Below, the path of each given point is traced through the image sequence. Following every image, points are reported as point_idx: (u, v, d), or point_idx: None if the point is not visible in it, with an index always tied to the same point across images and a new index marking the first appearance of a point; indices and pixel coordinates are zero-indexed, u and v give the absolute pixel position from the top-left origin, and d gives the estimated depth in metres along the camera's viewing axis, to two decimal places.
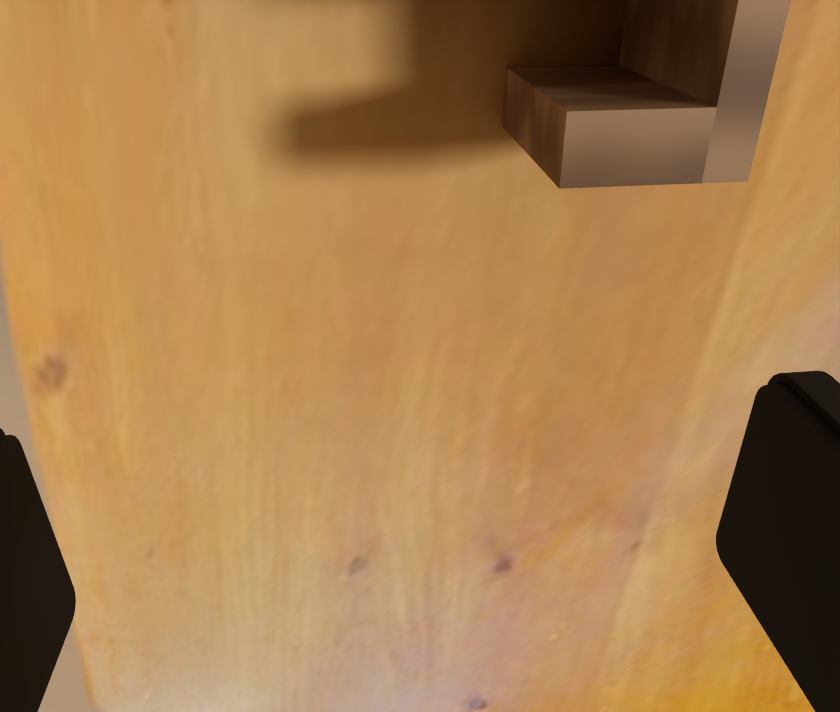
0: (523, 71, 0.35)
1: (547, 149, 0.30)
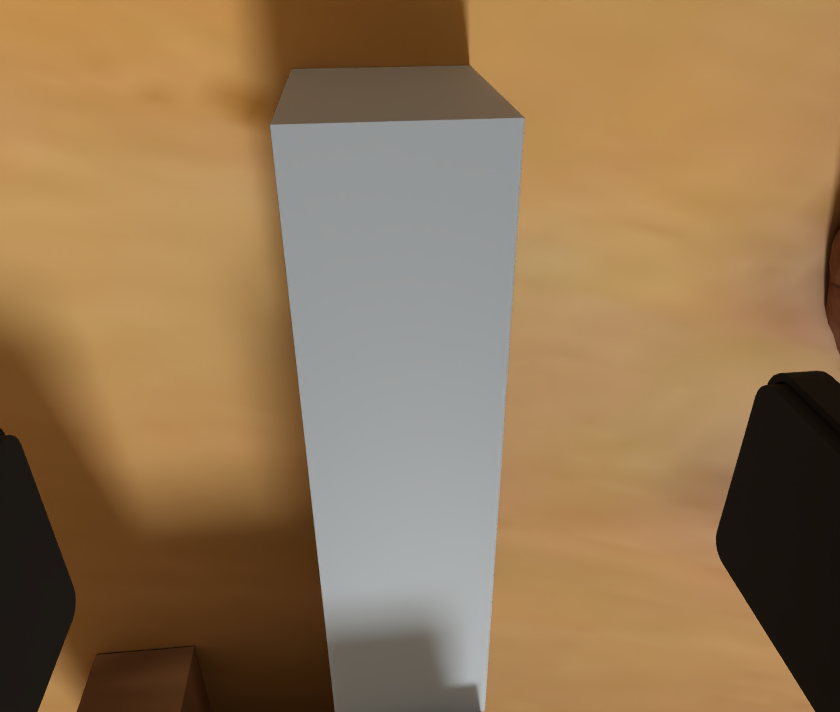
0: (188, 699, 0.21)
1: None
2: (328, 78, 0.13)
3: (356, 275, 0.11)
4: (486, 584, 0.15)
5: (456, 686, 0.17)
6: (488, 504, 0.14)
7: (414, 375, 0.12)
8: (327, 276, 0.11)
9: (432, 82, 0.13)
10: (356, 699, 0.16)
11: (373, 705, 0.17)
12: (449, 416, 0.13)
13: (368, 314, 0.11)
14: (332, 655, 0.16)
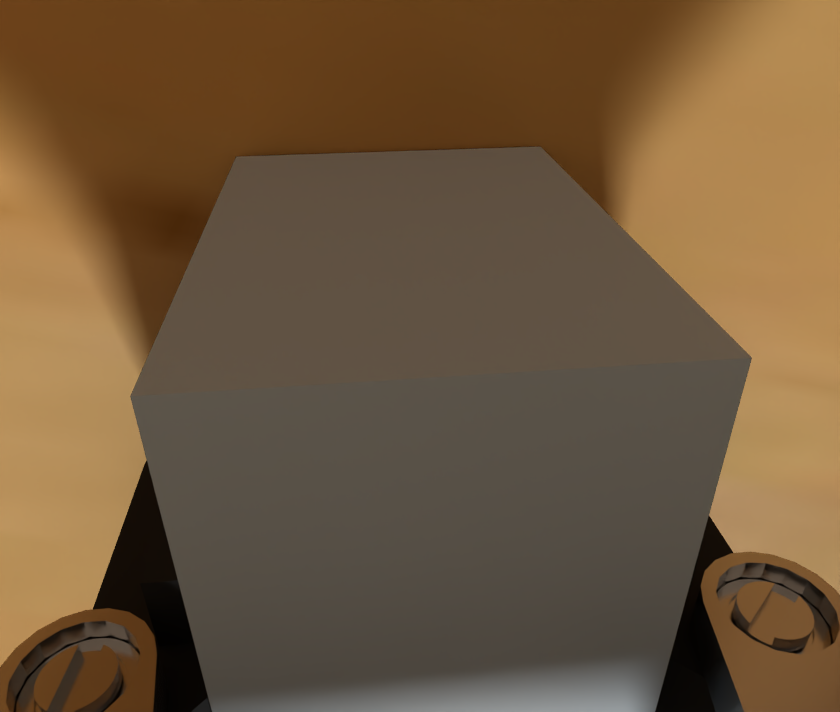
0: None
1: None
2: (297, 186, 0.07)
3: (351, 650, 0.05)
4: None
5: None
6: None
7: None
8: (289, 655, 0.05)
9: (490, 200, 0.07)
10: None
11: None
12: None
13: (374, 706, 0.06)
14: None
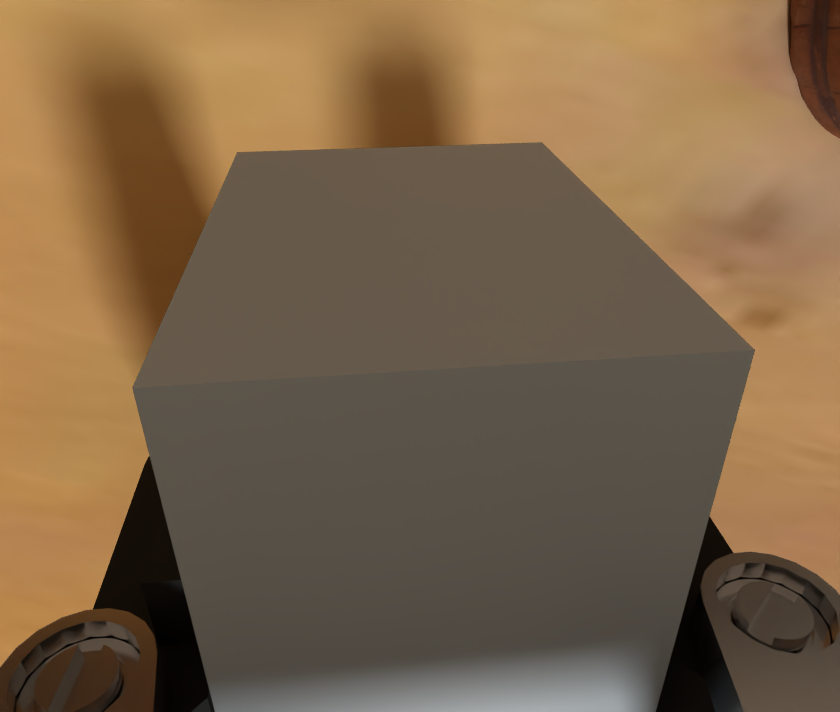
0: None
1: None
2: (298, 181, 0.07)
3: (353, 644, 0.05)
4: None
5: None
6: None
7: None
8: (290, 650, 0.05)
9: (492, 195, 0.07)
10: None
11: None
12: None
13: (375, 700, 0.06)
14: None
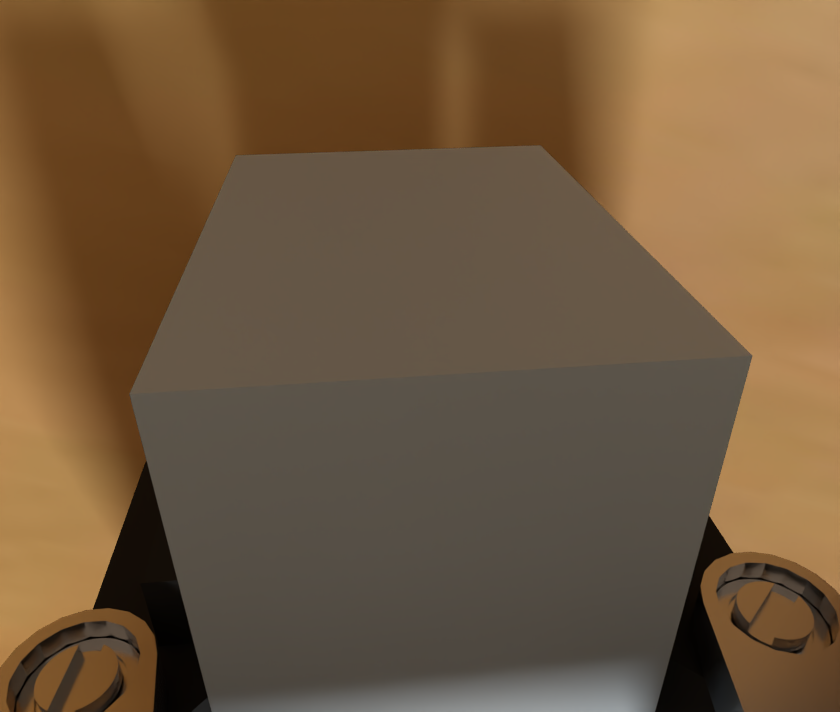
0: None
1: None
2: (297, 184, 0.07)
3: (351, 649, 0.05)
4: None
5: None
6: None
7: None
8: (287, 654, 0.05)
9: (490, 199, 0.07)
10: None
11: None
12: None
13: (374, 706, 0.06)
14: None
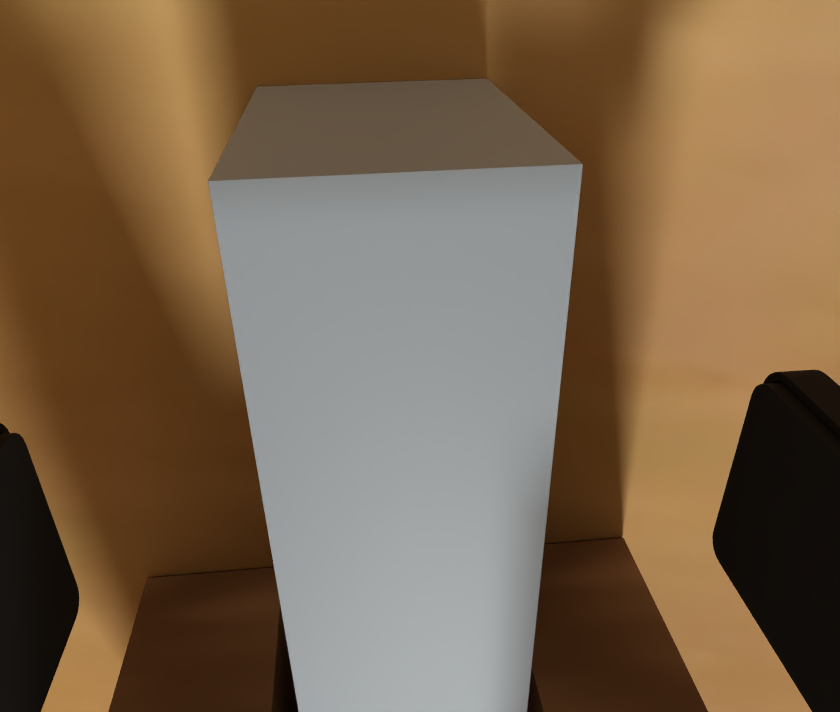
0: (281, 637, 0.15)
1: None
2: (303, 100, 0.10)
3: (342, 382, 0.08)
4: None
5: None
6: (520, 649, 0.11)
7: (423, 503, 0.09)
8: (301, 384, 0.08)
9: (441, 105, 0.09)
10: None
11: None
12: (470, 550, 0.09)
13: (359, 432, 0.08)
14: None
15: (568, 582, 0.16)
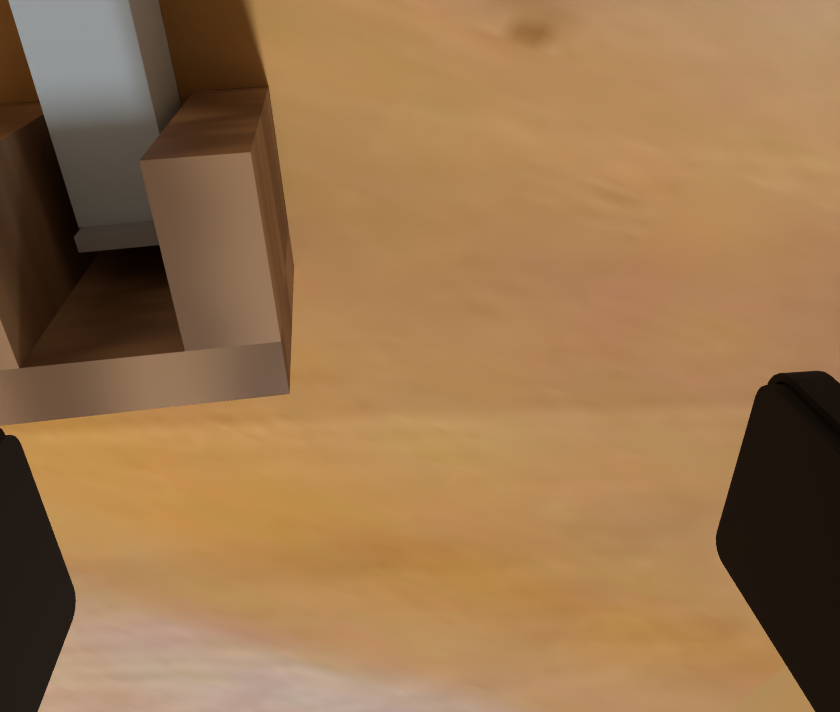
0: None
1: None
2: None
3: None
4: (145, 92, 0.24)
5: None
6: (126, 20, 0.23)
7: None
8: None
9: None
10: (86, 201, 0.25)
11: (99, 208, 0.26)
12: None
13: None
14: (59, 156, 0.25)
15: (223, 94, 0.28)
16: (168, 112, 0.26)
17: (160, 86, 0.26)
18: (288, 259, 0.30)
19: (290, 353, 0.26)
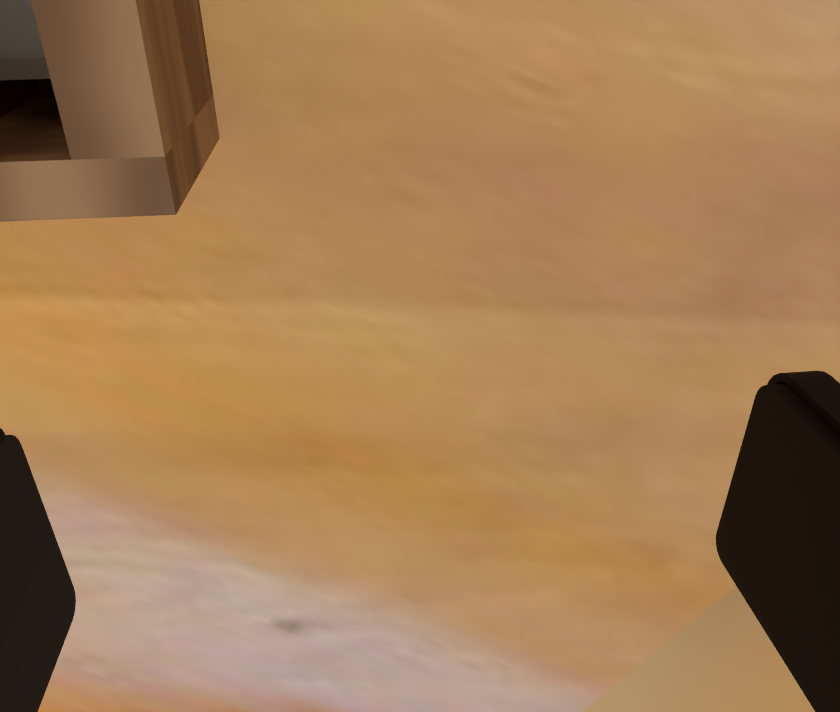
0: None
1: None
2: None
3: None
4: None
5: None
6: None
7: None
8: None
9: None
10: None
11: (11, 40, 0.27)
12: None
13: None
14: None
15: None
16: None
17: None
18: (205, 119, 0.31)
19: (188, 189, 0.27)
